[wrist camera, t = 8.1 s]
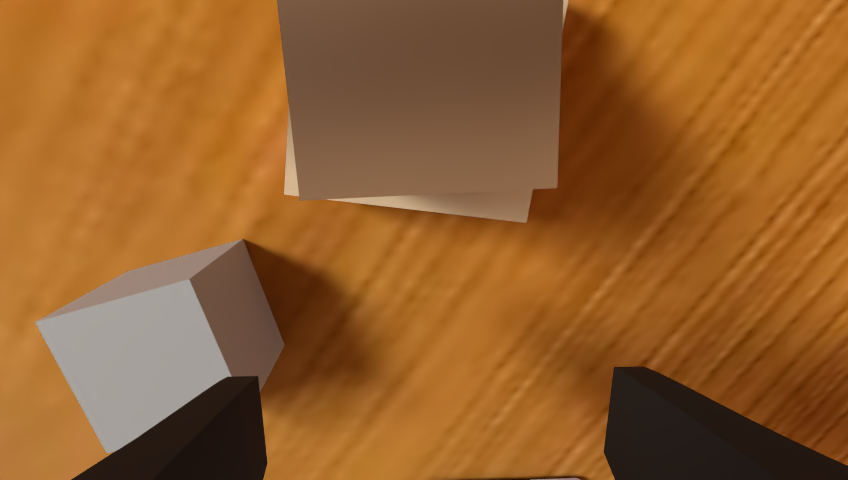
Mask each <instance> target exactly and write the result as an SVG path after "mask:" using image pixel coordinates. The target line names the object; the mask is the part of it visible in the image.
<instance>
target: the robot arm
mask: <svg viewBox="0 0 848 480" xmlns="http://www.w3.org/2000/svg"><path fill="white" fill-rule="evenodd" d="M604 454H605V456H606V458H607V461H608V463H609V466H610V468H611V471H612V473H613V476H614V478H615V480H848V466H847V465H845V464H842V463H840V462H838V461H835V460H833V459H831V458H829V457H827V456H825V455H822V454H820V453H818V452H816V451H814V450H812V449H810V448H808V447H805V446H803V445H801V444H799V443H797V442H795V441H793V440H791V439H788V438H786V437H784V436H782V435H780V434H778V433H776V432H774V431H772V430H770V429H768V428H766V427H764V426H762V425H760V424H758V423H756V422H754V421H752V420H750V419H748V418H746V417H744V416H742V415H740V414H738V413H736V412H734V411H732V410H730V409H729V408H727V407H725V406H723V405H721V404H719V403H717V402H715V401H713V400H711V399H709V398H707V397H705V396H704V395H702V394H700V393H698V392H696V391H694V390H692V389H690V388H688V387H686V386H684V385H682V384H680V383H678V382H676V381H674V380H672V379H670V378H668V377H666V376H664V375H662V374H660V373H658V372H655V371H653V370H651V369H648V368H646V367H614V372H613V380H612V388H611V397H610V405H609V414H608V422H607V430H606V439H605V447H604ZM266 466H267V456H266V446H265V436H264V427H263V417H262V408H261V398H260V388H259V379H258V376H233V377H226V378H224V379H222V380H221V381H219V382H217V383H216V384H214V385H213V386H211V387H210V388H208V389H207V390H205V391H204V392H202V393H201V394H199V395H198V396H196V397H195V398H194V399H192V400H191V401H189V402H188V403H186V404H185V405H184V406H182V407H181V408H179V409H178V410H176V411H175V412H173V413H172V414H171V415H169V416H168V417H166V418H165V419H163V420H162V421H160V422H159V423H158V424H156V425H155V426H153V427H152V428H150V429H149V430H147V431H146V432H144V433H143V434H142V435H140V436H139V437H137V438H136V439H134V440H133V441H131V442H129V443H128V444H126V445H125V446H123V447H122V448H120V449H119V450H117V451H115V452H114V453H112V454H111V455H109V456H108V457H106V458H104V459H103V460H101V461H100V462H98V463H97V464H95V465H94V466H92V467H90V468H89V469H87V470H86V471H84V472H83V473H81V474H79V475H78V476H76V477H75V478H73V479H71V480H263V478H264V474H265V470H266ZM532 480H581V479H579V478H560V479H532Z"/></svg>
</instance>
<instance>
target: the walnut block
mask: <svg viewBox="0 0 848 480" xmlns="http://www.w3.org/2000/svg"><path fill="white" fill-rule="evenodd" d="M277 4H278V13H279V22H280V31H281V40H282V49H283V58H284V66H285V75H286V84H287V93H288V102H289V111H290V119H291V128H292V137H293V146H294V155H295V164H296V173H297V181H298V190H299V199H300V201H302V200H323V199H344V198H364V197H385V196H406V195H426V194H447V193H468V192H488V191H509V190H530V189H550V188H557V183H558V152H559V120H560V89H561V57H562V26H563V0H277Z"/></svg>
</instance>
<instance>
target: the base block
mask: <svg viewBox="0 0 848 480" xmlns="http://www.w3.org/2000/svg"><path fill="white" fill-rule="evenodd" d="M567 5H568V0H563V26H564V21H565V16H566V10H567ZM563 26H562V32H563ZM532 191H533V189H530V190H509V191H488V192H468V193H447V194H426V195H406V196H385V197H364V198H344V199H327V200H335V201H344V202H352V203H361V204H369V205H378V206H386V207H395V208H403V209H412V210H420V211H429V212H437V213H446V214H454V215H463V216H471V217H480V218H488V219H497V220H505V221H514V222H522V223H527V218H528V213H529V207H530V202H531V197H532ZM284 195H293V196H299V190H298V181H297V173H296V164H295V155H294V146H293V137H292V128H291V119H290V111H289V113H288V132H287V151H286V170H285V189H284Z"/></svg>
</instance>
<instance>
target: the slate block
mask: <svg viewBox="0 0 848 480" xmlns="http://www.w3.org/2000/svg"><path fill="white" fill-rule="evenodd" d="M35 323H36V325H37V327H38V328H39V330H40V332H41V334H42V336H43V338H44V339H45V341H46V343H47V345H48V347H49V349H50V350H51V352H52V354H53V356H54V358H55V360H56V361H57V363H58V365H59V367H60V369H61V371H62V372H63V374H64V376H65V378H66V380H67V382H68V383H69V385H70V387H71V389H72V391H73V393H74V394H75V396H76V398H77V400H78V402H79V404H80V405H81V407H82V409H83V411H84V413H85V415H86V416H87V418H88V420H89V422H90V424H91V426H92V427H93V429H94V431H95V433H96V435H97V437H98V438H99V440H100V442H101V444H102V446H103V448H104V449H105V451H106V453H110V452H114V451H117V450H119V449H120V448H122V447H123V446H125V445H126V444H128V443H129V442H131V441H133V440H134V439H136V438H137V437H139V436H140V435H142V434H143V433H144V432H146V431H147V430H149V429H150V428H152V427H153V426H155V425H156V424H158V423H159V422H160V421H162V420H163V419H165V418H166V417H168V416H169V415H171V414H172V413H173V412H175V411H176V410H178V409H179V408H181V407H182V406H184V405H185V404H186V403H188V402H189V401H191V400H192V399H194V398H195V397H196V396H198V395H199V394H201V393H202V392H204V391H205V390H207V389H208V388H210V387H211V386H213V385H214V384H216V383H217V382H219V381H221V380H222V379H224V378H226V377H233V376H258V379H259V388H260V392H261V390H262V388H263V386H264V384H265V382H266V380H267V378H268V376H269V375H270V373H271V371H272V369H273V367H274V365H275V363H276V361H277V359H278V357H279V355H280V353H281V352H282V350H283V348H284V346H285V344H284V342H283V339H282V337H281V334H280V332H279V329H278V327H277V324H276V321H275V319H274V316H273V314H272V311H271V309H270V306H269V304H268V301H267V299H266V296H265V294H264V291H263V288H262V286H261V283H260V281H259V278H258V276H257V273H256V271H255V268H254V266H253V263H252V261H251V258H250V255H249V253H248V250H247V248H246V245H245V243H244V240H243V239H241V240H238V241H234V242H230V243H227V244H223V245H220V246H216V247H213V248H209V249H205V250H202V251H198V252H195V253H191V254H188V255H184V256H181V257H177V258H173V259H170V260H166V261H163V262H159V263H156V264H152V265H148V266H145V267H141V268H138V269H134V270H131V271H127V272H125V273H124V274H122V275H120V276H118V277H116V278H115V279H113V280H111V281H109V282H107V283H105V284H104V285H102V286H100V287H98V288H96V289H95V290H93V291H91V292H89V293H87V294H85V295H84V296H82V297H80V298H78V299H76V300H75V301H73V302H71V303H69V304H67V305H65V306H64V307H62V308H60V309H58V310H56V311H55V312H53V313H51V314H49V315H47V316H45V317H44V318H42V319H40V320H38V321H36V322H35Z"/></svg>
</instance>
